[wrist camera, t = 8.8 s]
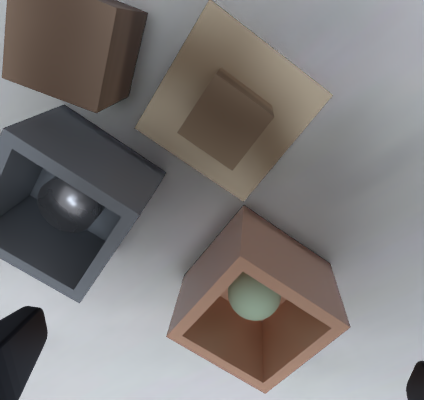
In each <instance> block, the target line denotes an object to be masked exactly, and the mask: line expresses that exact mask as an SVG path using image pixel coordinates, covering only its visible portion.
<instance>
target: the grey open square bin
mask: <svg viewBox="0 0 424 400" xmlns="http://www.w3.org/2000/svg"><path fill="white" fill-rule="evenodd" d="M165 174H166V172H165V171H163V170H162V169H160V168H159V167H157V166H156V165H154V164H153V163H151V162H150V161H148V160H147V159H145V158H144V157H142V156H141V155H139V154H138V153H136V152H135V151H133V150H132V149H130V148H129V147H127V146H126V145H124V144H123V143H121V142H120V141H118V140H117V139H115V138H114V137H112V136H111V135H109V134H108V133H106V132H105V131H103V130H102V129H100V128H99V127H97V126H96V125H94V124H93V123H91V122H90V121H88V120H87V119H85V118H84V117H82V116H81V115H79V114H78V113H76V112H75V111H73V110H72V109H70V108H69V107H67V106H66V105H62V106H59V107H57V108H54V109H51V110H49V111H46V112H44V113H41V114H39V115H36V116H34V117H31V118H28V119H26V120H23V121H21V122H18V123H16V124H13V125H10V126H8V127H5V128H3V130H2V133H1V135H0V258H1V259H2V260H4V261H6V262H8V263H9V264H11V265H13V266H15V267H16V268H18V269H20V270H22V271H23V272H25V273H27V274H29V275H30V276H32V277H34V278H36V279H37V280H39V281H41V282H43V283H45V284H46V285H48V286H50V287H52V288H53V289H55V290H57V291H59V292H60V293H62V294H64V295H66V296H67V297H69V298H71V299H73V300H74V301H76V302H78V303H80V302H81V301H82V299H83V298H84V296H85V295H86V293H87V292H88V290H89V289H90V287H91V286H92V284H93V283H94V282H95V280H96V279H97V277H98V276H99V274H100V273H101V271H102V270H103V268H104V267H105V265H106V264H107V262H108V261H109V259H110V258H111V257H112V255H113V254H114V252H115V251H116V249H117V248H118V246H119V245H120V243H121V242H122V240H123V239H124V237H125V236H126V235H127V233H128V232H129V230H130V229H131V227H132V226H133V224H134V223H135V221H136V220H137V218H138V217H139V215H140V214H141V212H142V211H143V209H144V208H145V206H146V204H147V203H148V201H149V200H150V198H151V196H152V195H153V193H154V192H155V190H156V188H157V187H158V185H159V184H160V182H161V180H162V179H163V177H164V176H165ZM55 176H57V177H58V178H60V179H61V180H63V181H64V182H66V183H68V184H69V185H71V186H72V187H74V188H76V189H77V190H79V191H80V192H82V193H84V194H85V195H87V196H88V197H90V198H92V199H93V200H95V201H96V202H98V203H100V204H101V205H103V206H104V207H106V208H105V209H104V210H103V212H102V213H101V214H100V215H99V216H98V217H97V219H96V220H95V221H94V222H93V223H92V225H91V226H90V227H89V228H87V229H86V230H84V231H82V232H78V233H69V232H64V231H61V230H59V229H57V228H55V227H53V226H52V225H51V224H49V223H48V222H47V221H46V220H45V218H44V217H43V216H42V214H41V212H40V210H39V208H38V204H37V196H38V192H39V190H40V188H41V187H42V186H43V185H44V184H45V183H47V182H48V181H49V180H51V179H52V178H53V177H55Z"/></svg>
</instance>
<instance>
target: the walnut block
mask: <svg viewBox="0 0 424 400" xmlns="http://www.w3.org/2000/svg"><path fill="white" fill-rule="evenodd" d="M147 14H148V13H147V12H144V11H142V10H139V9H137V8H134V7H131V6H129V5H126V4H124V3H121V2H119V1H116V0H7V8H6V24H5V39H4V54H3V70H2V78H4V79H6V80H9V81H12V82H14V83H17V84H20V85H22V86H25V87H28V88H30V89H33V90H36V91H38V92H41V93H44V94H46V95H49V96H52V97H54V98H57V99H60V100H63V101H65V102H68V103H71V104H73V105H76V106H79V107H81V108H84V109H87V110H89V111H92V112H95V113H98V112H100V111H102V110H104V109H105V108H107V107H109V106H111V105H113V104H115V103H117V102H119V101H121V100H123V99H125V98H127V97H128V96H129V91H130V87H131V83H132V78H133V74H134V70H135V65H136V61H137V57H138V52H139V48H140V44H141V40H142V35H143V31H144V27H145V22H146V18H147Z"/></svg>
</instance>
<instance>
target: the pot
mask: <svg viewBox="0 0 424 400" xmlns="http://www.w3.org/2000/svg"><path fill="white" fill-rule="evenodd" d="M242 272H244V273H246V274H248V275H249V276H251V277H252V278H254V279H255V280H257V281H259V282H260V283H262V284H263V285H265V286H266V287H268V288H269V289H271V290H273V291H274V292H276V293H277V294H279V295H280V296H281V301H280V304H279V306H278V308H277V310H276V311H275V312H274V313H273V314H272V315H271V316H270V317H268V318H266V319H263V320H259V321H252V320H247V319H245V318H243V317H241V316H239V315H238V314H237V313H236V312H235V311H234V310H233V308H232V307H231V305H230V302H229V299H228V287H229V286H230V285H231V284H232V283H233V282H234V280H235V279H236V278H237V277H238V276H239V275H240V274H241V273H242ZM349 328H350V324H349V321H348V318H347V315H346V312H345V308H344V305H343V302H342V299H341V296H340V293H339V290H338V286H337V283H336V280H335V277H334V274H333V271H332V267H331V264H330V263H328V262H327V261H326V260H324V259H323V258H321V257H320V256H318V255H317V254H315V253H314V252H312V251H311V250H309V249H308V248H306V247H305V246H303V245H302V244H300V243H299V242H297V241H296V240H295V239H293V238H292V237H290V236H289V235H287V234H286V233H284V232H283V231H281V230H280V229H278V228H277V227H275V226H274V225H272V224H271V223H269V222H268V221H266V220H265V219H264V218H262V217H261V216H259V215H258V214H256V213H255V212H253V211H252V210H250V209H249V208H247V207H246V206H244V205H243V207H242V208H241V209H240V210H239V211H238V212H237V214H236V215H235V216H234V217H233V218H232V220H231V221H230V222H229V223H228V224H227V226H226V227H225V228H224V229H223V230H222V231H221V233H220V234H219V235H218V236H217V237H216V239H215V240H214V241H213V242H212V243H211V244H210V246H209V247H208V248H207V249H206V250H205V252H204V253H203V254H202V255H201V256H200V258H199V259H198V260H197V261H196V262H195V263H194V265H193V266H192V267H191V268H190V269H189V271H188V272H187V273H186V274H185V275H184V278H183V281H182V285H181V288H180V291H179V295H178V298H177V302H176V305H175V308H174V312H173V315H172V319H171V322H170V325H169V329H168V332H167V336H166V337H168V338H169V339H171V340H173V341H175V342H176V343H178V344H180V345H182V346H183V347H185V348H187V349H189V350H190V351H192V352H194V353H195V354H197V355H199V356H201V357H202V358H204V359H206V360H208V361H209V362H211V363H213V364H215V365H216V366H218V367H220V368H221V369H223V370H225V371H227V372H228V373H230V374H232V375H234V376H235V377H237V378H239V379H241V380H242V381H244V382H246V383H247V384H249V385H251V386H253V387H254V388H256V389H258V390H260V391H261V392H263V393H267V392H268V391H269V390H271V389H272V388H273V387H274V386H276V385H277V384H278V383H280V382H281V381H282V380H283V379H285V378H286V377H287V376H289V375H290V374H291V373H292V372H294V371H295V370H296V369H298V368H299V367H300V366H301V365H303V364H304V363H305V362H307V361H308V360H309V359H310V358H312V357H313V356H314V355H316V354H317V353H318V352H319V351H321V350H322V349H323V348H325V347H326V346H327V345H328V344H330V343H331V342H332V341H334V340H335V339H336V338H337V337H339V336H340V335H341V334H342V333H344V332H345V331H346V330H348V329H349Z"/></svg>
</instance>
